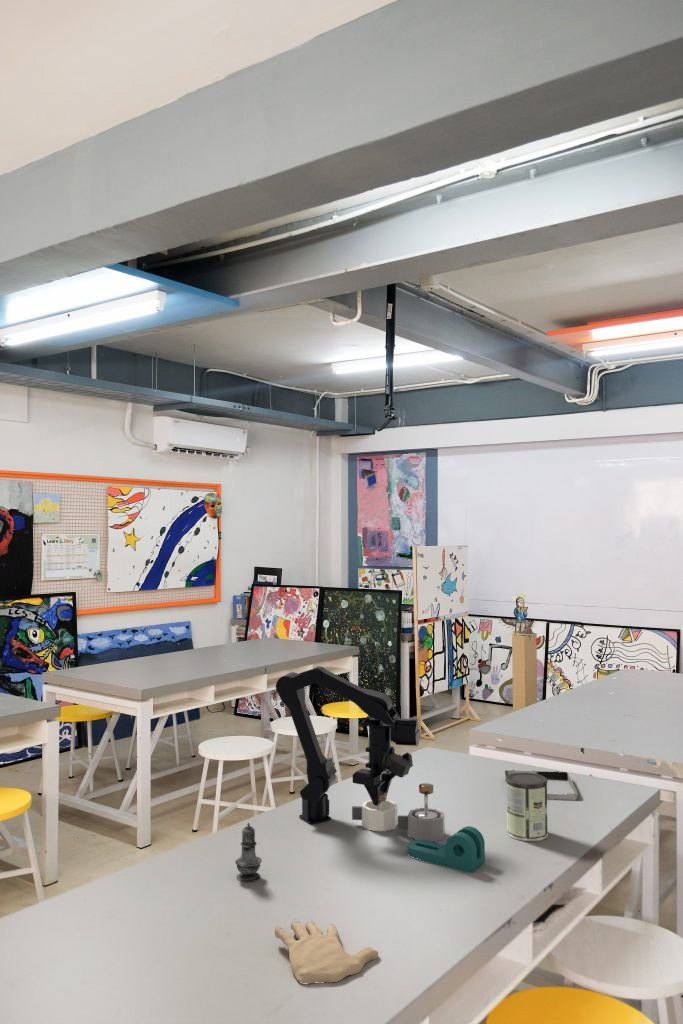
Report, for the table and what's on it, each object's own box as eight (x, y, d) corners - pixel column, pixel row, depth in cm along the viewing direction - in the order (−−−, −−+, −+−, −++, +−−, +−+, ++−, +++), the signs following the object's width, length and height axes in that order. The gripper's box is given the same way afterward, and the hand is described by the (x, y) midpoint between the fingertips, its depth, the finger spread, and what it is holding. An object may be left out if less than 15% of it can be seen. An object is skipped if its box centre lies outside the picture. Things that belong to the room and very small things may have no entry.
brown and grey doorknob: (376, 828, 212) (376, 797, 212) (364, 821, 216) (364, 791, 217) (394, 823, 215) (394, 793, 215) (382, 817, 219) (382, 788, 220)
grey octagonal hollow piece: (417, 845, 202) (417, 824, 202) (395, 834, 209) (395, 813, 209) (451, 837, 207) (450, 816, 207) (429, 826, 215) (428, 806, 215)
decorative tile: (578, 805, 235) (571, 781, 254) (578, 794, 235) (571, 771, 254) (506, 801, 238) (504, 778, 258) (506, 791, 238) (504, 768, 258)
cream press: (369, 835, 209) (369, 814, 209) (350, 824, 216) (350, 804, 216) (403, 826, 214) (403, 806, 214) (383, 816, 222) (383, 797, 222)
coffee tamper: (424, 821, 205) (424, 790, 205) (410, 815, 210) (410, 784, 210) (441, 817, 208) (441, 786, 208) (428, 811, 212) (428, 780, 213)
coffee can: (519, 823, 216) (519, 769, 217) (555, 833, 209) (555, 777, 210) (498, 834, 209) (498, 778, 209) (534, 845, 202) (534, 787, 202)
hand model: (273, 973, 140) (275, 904, 159) (272, 998, 140) (274, 926, 160) (384, 974, 141) (372, 905, 161) (382, 999, 142) (370, 927, 161)
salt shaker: (240, 884, 180) (240, 829, 180) (231, 874, 185) (231, 820, 185) (265, 879, 182) (265, 824, 182) (255, 869, 187) (256, 816, 188)
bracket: (484, 863, 191) (484, 829, 191) (472, 873, 186) (472, 838, 186) (416, 847, 201) (416, 814, 201) (402, 856, 196) (402, 822, 196)
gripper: (390, 756, 204) (390, 819, 204) (422, 739, 220) (423, 798, 220) (351, 749, 210) (351, 811, 209) (385, 734, 226) (385, 791, 225)
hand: (379, 803), depth 216 cm, fingers closed on brown and grey doorknob, 4 cm apart
